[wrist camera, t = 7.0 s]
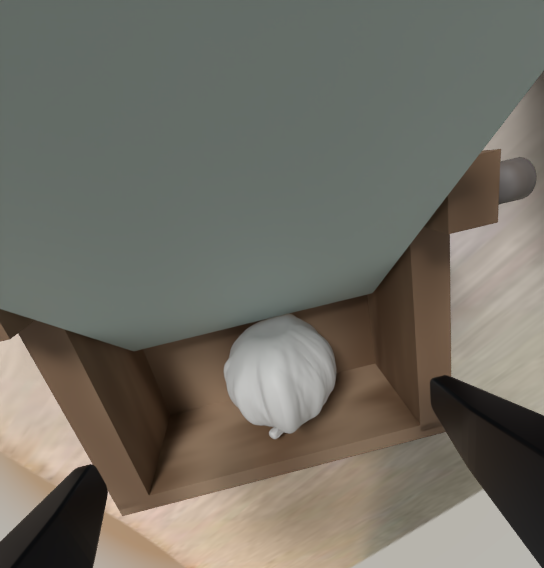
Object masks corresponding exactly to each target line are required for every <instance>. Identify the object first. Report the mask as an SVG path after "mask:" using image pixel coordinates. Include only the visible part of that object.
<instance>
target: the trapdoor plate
mask: <svg viewBox="0 0 544 568" xmlns="http://www.w3.org/2000/svg"><path fill="white" fill-rule="evenodd" d="M543 71H544V0H0V309H2V310H5V311H9V312H12V313H15V314H18V315H21V316H24V317H27V318H31V319H34V320H37V321H40V322H43V323H46V324H49V325H53V326H56V327H59V328H62V329H65V330H68V331H71V332H75V333H78V334H81V335H84V336H87V337H90V338H93V339H97V340H100V341H103V342H106V343H109V344H112V345H115V346H119V347H122V348H125V349H128V350H131V351H137V350H141V349H145V348H149V347H154V346H158V345H162V344H166V343H170V342H174V341H178V340H182V339H186V338H191V337H195V336H199V335H203V334H207V333H211V332H215V331H219V330H223V329H227V328H232V327H236V326H240V325H244V324H248V323H252V322H256V321H260V320H264V319H268V318H273V317H277V316H281V315H285V314H289V313H293V312H297V311H301V310H305V309H309V308H314V307H318V306H322V305H326V304H330V303H334V302H338V301H342V300H346V299H350V298H355V297H359V296H363V295H367V294H371V293H373V292H374V291H375V289H376V288H377V287H378V285H379V284H380V283H381V282H382V280H383V279H384V278H385V276H386V275H387V274H388V272H389V271H390V270H391V269H392V267H393V266H394V265H395V263H396V262H397V261H398V259H399V258H400V257H401V256H402V254H403V253H404V252H405V250H406V249H407V248H408V246H409V245H410V244H411V242H412V241H413V240H414V239H415V237H416V236H417V235H418V233H419V232H420V231H421V229H422V228H423V227H424V226H425V224H426V223H427V222H428V220H429V219H430V218H431V216H432V215H433V214H434V213H435V211H436V210H437V209H438V207H439V206H440V205H441V203H442V202H443V201H444V200H445V198H446V197H447V196H448V194H449V193H450V192H451V190H452V189H453V188H454V187H455V185H456V184H457V183H458V181H459V180H460V179H461V177H462V176H463V175H464V174H465V172H466V171H467V170H468V168H469V167H470V166H471V164H472V163H473V162H474V161H475V159H476V158H477V157H478V155H479V154H480V153H481V151H482V150H483V149H484V147H485V146H486V145H487V144H488V142H489V141H490V140H491V138H492V137H493V136H494V134H495V133H496V132H497V131H498V129H499V128H500V127H501V125H502V124H503V123H504V121H505V120H506V119H507V118H508V116H509V115H510V114H511V112H512V111H513V110H514V108H515V107H516V106H517V105H518V103H519V102H520V101H521V99H522V98H523V97H524V95H525V94H526V93H527V92H528V90H529V89H530V88H531V86H532V85H533V84H534V82H535V81H536V80H537V79H538V77H539V76H540V75H541V73H542V72H543Z"/></svg>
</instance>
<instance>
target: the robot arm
mask: <svg viewBox="0 0 544 568" xmlns="http://www.w3.org/2000/svg"><path fill="white" fill-rule="evenodd" d="M430 400H431V406H432V409H433V411H434V413H435V415H436V416H437V418H438V419H439V421H440V423H441V424H442V426H443V428H444V429H445V431H446V433H447V434H448V436H449V438H450V439H451V441H452V443H453V444H454V446H455V448H456V449H457V451H458V453H459V454H460V456H461V457H462V459H463V461H464V462H465V464H466V465H467V467H468V468H469V470H470V471H471V473H472V474H473V475H474V477H475V478H476V480H477V481H478V482H479V484H480V485H481V486H482V488H483V489H484V490H485V491H486V493H487V494H488V496H489V497H490V498H491V500H492V501H493V502H494V504H495V505H496V506H497V508H498V509H499V511H500V512H501V513H502V515H503V516H504V517H505V519H506V520H507V521H508V522H509V524H510V525H511V527H512V528H513V529H514V531H515V532H516V533H517V535H518V536H519V537H520V539H521V540H522V541H523V543H524V544H525V546H526V547H527V548H528V549H529V551H530V552H531V554H532V555H533V556H534V558H535V559H536V560H537V562H538V563H539V564H540V566H541V567H542V568H544V416H543V415H541V414H539V413H536V412H534V411H532V410H529V409H527V408H524V407H522V406H520V405H517V404H515V403H512V402H510V401H508V400H505V399H503V398H501V397H498V396H496V395H493V394H491V393H489V392H486V391H484V390H482V389H479V388H477V387H474V386H472V385H470V384H467V383H465V382H462V381H460V380H458V379H455V378H453V377H451V376H448V375H442V376H438V377H434V378H432V379H431V380H430ZM107 494H108V490H107V485H106V483H105V482H104V480H103V478H102V476H101V474H100V473H99V471H98V469H97V467H96V466H94V465H91V464H90V465H86V466H82V467H78V468H76V469H75V470H73V471H72V472H71V473H70V474H69V475H68V476H67V477H66V478H65V479H64V480H63V481H62V482H61V483H60V484H59V485H58V486H57V487H56V488H55V489H54V490H53V491H52V492H51V493H50V494H49V495H48V496H47V497H46V498H45V499H44V500H43V501H42V502H41V503H40V504H39V505H37V506H36V507H35V508H34V509H33V510H32V511H31V512H30V513H29V515H27V516H26V517H25V518H24V519H23V520H22V521H21V522H20V523H19V524H18V525H17V526H16V527H15V528H14V529H13V530H12V531H11V532H10V533H9V534H8V535H7V536H6V537H5V538H4V539H3V540H2V541H0V568H93V564H94V560H95V556H96V551H97V546H98V541H99V536H100V531H101V525H102V521H103V515H104V510H105V505H106V500H107Z"/></svg>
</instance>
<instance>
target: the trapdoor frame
mask: <svg viewBox="0 0 544 568" xmlns="http://www.w3.org/2000/svg"><path fill="white" fill-rule="evenodd" d="M500 159H501V149H497V150H485V151H481V153H480V154H479V155H478V157H477V158H476V159H475V161H474V162H473V163H472V164H471V166H470V167H469V168H468V170H467V171H466V172H465V174H464V175H463V176H462V177H461V179H460V180H459V181H458V183H457V184H456V185H455V187H454V188H453V189H452V190H451V192H450V193H449V194H448V196H447V197H446V198H445V200H444V201H443V202H442V203H441V205H440V206H439V207H438V209H437V210H436V211H435V213H434V214H433V215H432V216H431V218H430V219H429V220H428V222H427V223H426V224H425V226H424V227H423V228H422V229H421V231H420V232H419V233H418V235H417V236H416V237H415V239H414V240H413V241H412V242H411V244H410V245H409V246H408V248H407V249H406V250H405V252H404V253H403V254H402V256H401V257H400V258H399V259H398V261H397V262H396V263H395V265H394V266H393V267H392V269H391V270H390V271H389V272H388V274H387V275H386V276H385V278H384V279H383V280H382V282H381V283H380V284H379V285H378V287H377V288H376V289H375V291H374V292H373V293H371V294H367V295H363V296H359V297H355V298H350V299H346V300H342V301H338V302H334V303H330V304H326V305H322V306H318V307H314V308H309V309H305V310H301V311H297V312H293V313H289V314H292V315H294V316H296V317H297V318H299V319H301V320H303V321H305V322H307V323H308V324H310V325H311V326H312V327H314V328H315V330H316V331H317V332H318V333H319V334H320V335H321V336H322V337H323V338H325V339H326V340H327V341H328V343H329V344H330V346H331V348H332V350H333V353H334V357H335V363H336V380H335V386H334V389H333V391H332V392H331V393H330V395H329V397H328V399H327V401H326V403H325V404H324V405H323V407H322V409H321V411H320V413H319V414H318V415H317V416H316V417H314V418H312V419H310V420H308V421H307V422H305V423H304V424H302V425H301V426H300V427H299V428H298V429H297V430H296V431H295V432H293V433H291V434H288V433H285V432H284V433H283V434H281V435H280V437H279V438H277V439H273V438H271V437H270V436H269V431H270V430H271V429H272V428H273V427H270V426H265V425H263V426H260V425H254V424H252V423H250V422H249V421H248V420H247V419H246V418H245V417H244V416H243V415H242V413H241V412H240V410H239V408H238V407H237V406H236V405H235V404H234V403H233V402H232V400H231V399H230V397H229V394H228V391H227V384H226V381H225V377H224V366H225V363H226V361H227V360H228V359H229V355H230V350H231V347H232V345H233V344H234V342H235V341H236V340H237V339H238V337H239V336H240V335H241V334H242V333H243V332H244V331H245V330H246V329H247V328H249V327H250V326H252V325H254V324H256V323H258V322H260V321H263V320H260V321H256V322H252V323H248V324H244V325H240V326H236V327H232V328H227V329H223V330H219V331H215V332H211V333H207V334H203V335H199V336H195V337H191V338H186V339H182V340H178V341H174V342H170V343H166V344H162V345H158V346H154V347H149V348H145V349H141V350H137V351H131V350H128V349H125V348H122V347H119V346H115V345H112V344H109V343H106V342H103V341H100V340H97V339H93V338H90V337H87V336H84V335H81V334H78V333H75V332H71V331H68V330H65V329H62V328H59V327H56V326H53V325H49V324H46V323H43V322H40V321H37V320H34V319H31V318H27V317H24V316H21V315H18V314H15V313H12V312H9V311H5V310H2V309H0V341H4V340H8V339H11V338H12V337H13V336H15V335H16V334H19V336H20V337H21V339H22V341H23V343H24V344H25V346H26V348H27V350H28V351H29V353H30V355H31V357H32V358H33V360H34V362H35V364H36V365H37V367H38V369H39V371H40V372H41V374H42V376H43V378H44V379H45V381H46V383H47V385H48V386H49V388H50V390H51V392H52V393H53V395H54V397H55V399H56V400H57V402H58V404H59V406H60V407H61V409H62V411H63V413H64V414H65V416H66V418H67V420H68V421H69V423H70V425H71V427H72V428H73V430H74V432H75V434H76V436H77V437H78V439H79V441H80V443H81V444H82V446H83V448H84V450H85V451H86V453H87V455H88V457H89V458H90V460H91V462H92V464H93V465H94V466H96V467H97V469H98V471H99V473H100V474H101V476H102V478H103V480H104V482H105V483H106V485H107V490H108V492H109V493H110V495H111V497H112V499H113V500H114V502H115V504H116V506H117V507H118V509H119V511H120V513H121V514H122V516H125V515H129V514H132V513H136V512H140V511H144V510H148V509H152V508H155V507H159V506H163V505H167V504H171V503H175V502H178V501H182V500H186V499H190V498H194V497H198V496H202V495H205V494H209V493H213V492H217V491H221V490H225V489H228V488H232V487H236V486H240V485H244V484H248V483H251V482H255V481H259V480H263V479H267V478H271V477H274V476H278V475H282V474H286V473H290V472H294V471H298V470H301V469H305V468H309V467H313V466H317V465H321V464H324V463H328V462H332V461H336V460H340V459H344V458H347V457H351V456H355V455H359V454H363V453H367V452H370V451H374V450H378V449H382V448H386V447H390V446H393V445H397V444H401V443H405V442H409V441H413V440H417V439H420V438H424V437H428V436H432V435H436V434H440V433H443V432H446V431H445V429H444V428H443V426H442V424H441V423H440V421H439V419H438V418H437V416H436V415H435V413H434V411H433V409H432V406H431V400H430V380H431V379H432V378H434V377H438V376H442V375H448V376H451V316H450V234H451V233H455V232H459V231H464V230H468V229H472V228H476V227H480V226H484V225H489V224H493V223H497V222H498V205H499V204H502V203H507V202H511V201H515V200H519V199H523V198H525V197H527V196H528V195H529V194H530V193H531V192H532V191H533V189H534V187H535V184H536V171H535V168H534V166H533V164H532V163H531V162H530V161H529V160H527V159H525V158H521V157H519V158H514V159H510V160H505V161H501V162H500ZM264 320H265V319H264Z"/></svg>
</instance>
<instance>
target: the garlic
mask: <svg viewBox="0 0 544 568" xmlns="http://www.w3.org/2000/svg"><path fill="white" fill-rule="evenodd" d="M224 377H225V381H226V384H227V391H228V394H229V397H230V399H231V400H232V402H233V403H234V404H235V405H236V406H237V407H238V408H239V410H240V412H241V413H242V415H243V416H244V417H245V418H246V419H247V420H248V421H249V422H250V423H252V424H254V425H260V426H263V425H265V426H270V427H273V428H272V429H271V430H270V431H269V436H270V437H271V438H273V439H277V438H279V437H280V435H281V434H283V433H284V432H285V433H288V434H291V433H293V432H295V431H296V430H297V429H298V428H299V427H300V426H301V425H302V424H304V423H305V422H307V421H308V420H310V419H312V418H314V417H316V416H317V415H318V414H319V413H320V411H321V409H322V407H323V405H324V404H325V403H326V401H327V399H328V397H329V395H330V393H331V392H332V391H333V389H334V386H335V380H336V363H335V357H334V353H333V350H332V348H331V346H330V344H329V343H328V341H327V340H326V339H325V338H323V337H322V336H321V335H320V334H319V333H318V332H317V331H316V330H315V328H314V327H312V326H311V325H310V324H308V323H307V322H305V321H303V320H301V319H299V318H297V317H296V316H294V315H292V314H285V315H281V316H277V317H273V318H268V319H265V320H263V321H260V322H258V323H256V324H254V325H252V326H250V327H249V328H247V329H246V330H245V331H244V332H243V333H242V334H241V335H240V336H239V337H238V339H237V340H236V341H235V342H234V344H233V345H232V347H231V350H230V355H229V359H228V360H227V361H226V363H225V366H224Z"/></svg>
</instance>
